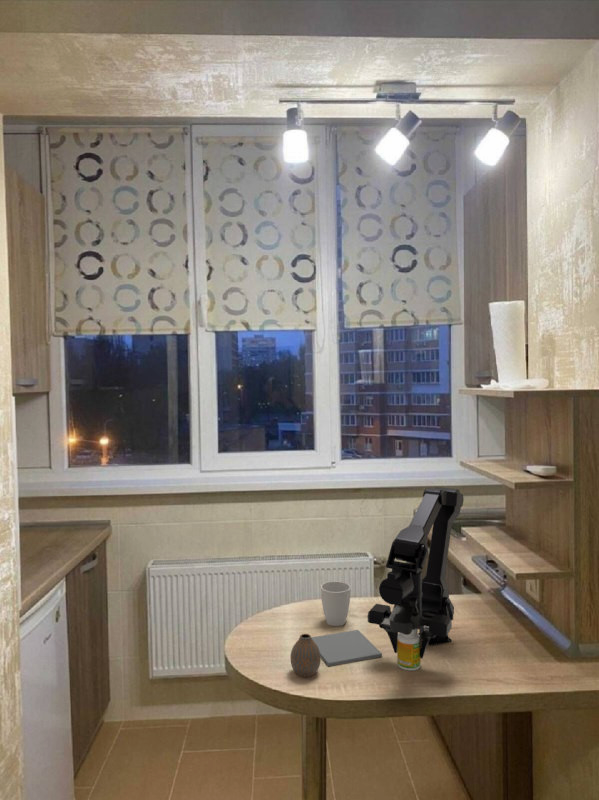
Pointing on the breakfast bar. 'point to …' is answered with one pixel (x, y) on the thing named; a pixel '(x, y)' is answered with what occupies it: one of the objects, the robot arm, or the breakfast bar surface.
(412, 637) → the supplement bottle
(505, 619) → the breakfast bar surface
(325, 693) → the breakfast bar surface
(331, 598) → the cup
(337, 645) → the slate mat
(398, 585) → the robot arm
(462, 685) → the breakfast bar surface
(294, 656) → the vase
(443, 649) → the breakfast bar surface
